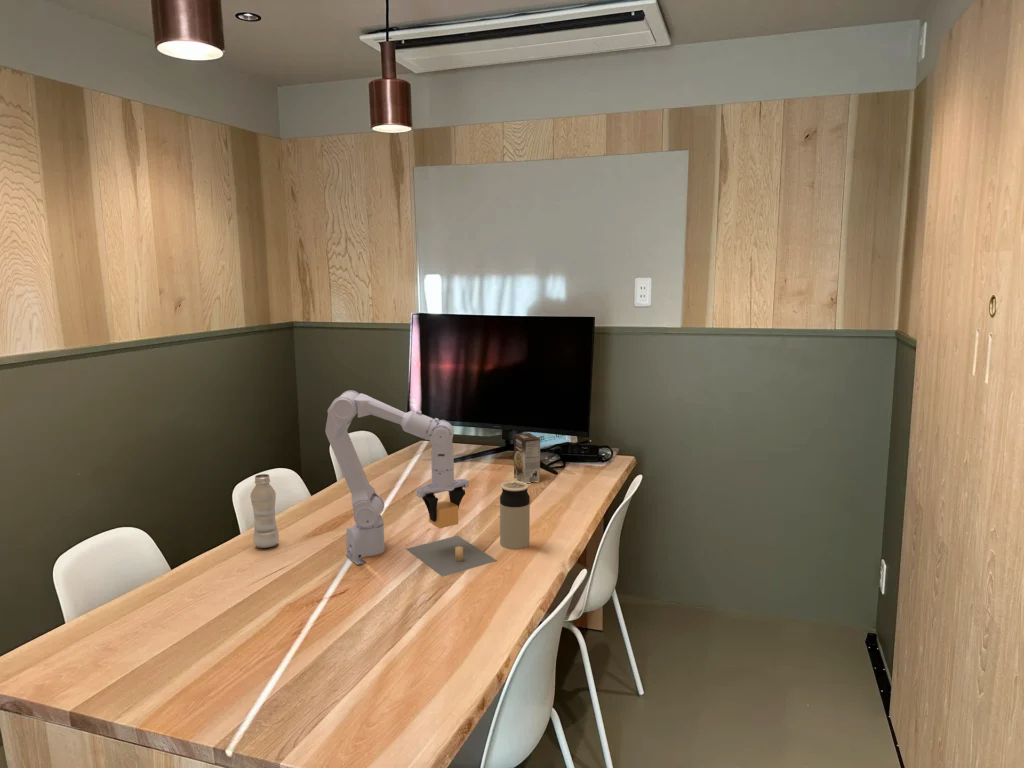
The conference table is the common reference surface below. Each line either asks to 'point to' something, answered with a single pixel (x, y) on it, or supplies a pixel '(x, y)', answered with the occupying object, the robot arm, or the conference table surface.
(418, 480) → the conference table surface
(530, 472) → the coffee box
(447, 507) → the wooden toy cube
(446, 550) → the board
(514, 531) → the travel mug
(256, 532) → the plastic bottle
